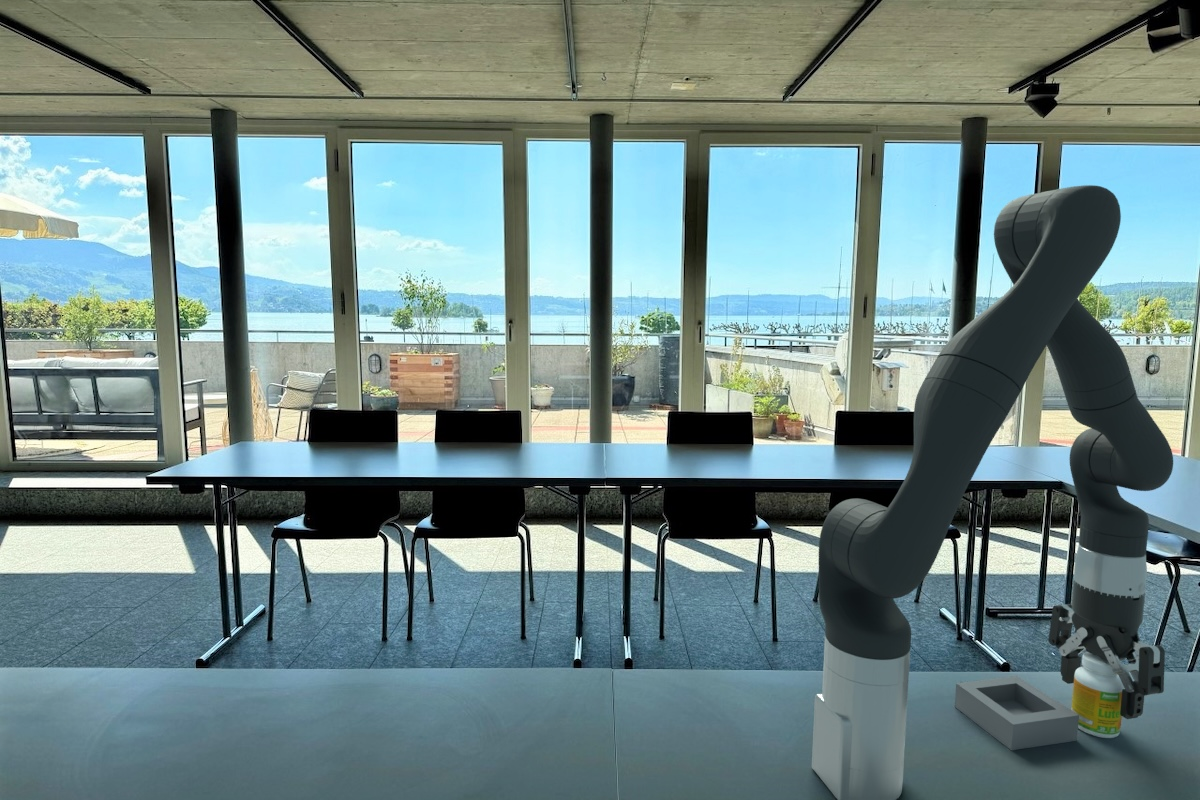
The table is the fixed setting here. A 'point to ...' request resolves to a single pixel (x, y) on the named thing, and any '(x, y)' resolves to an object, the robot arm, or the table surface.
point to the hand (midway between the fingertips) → (1098, 698)
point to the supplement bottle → (1097, 697)
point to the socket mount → (1016, 712)
